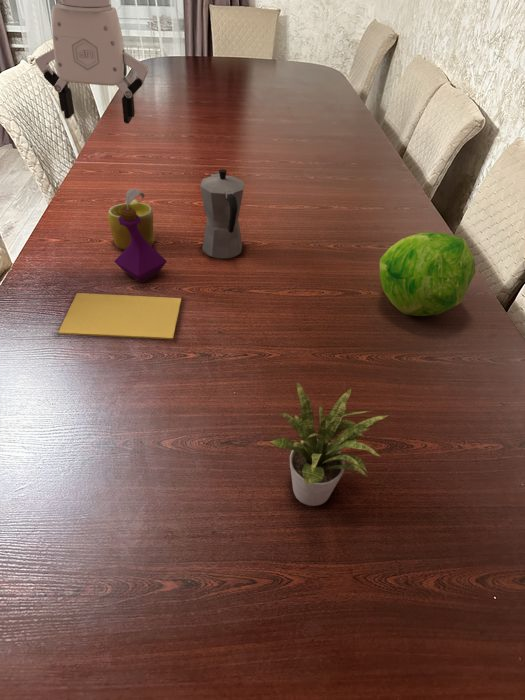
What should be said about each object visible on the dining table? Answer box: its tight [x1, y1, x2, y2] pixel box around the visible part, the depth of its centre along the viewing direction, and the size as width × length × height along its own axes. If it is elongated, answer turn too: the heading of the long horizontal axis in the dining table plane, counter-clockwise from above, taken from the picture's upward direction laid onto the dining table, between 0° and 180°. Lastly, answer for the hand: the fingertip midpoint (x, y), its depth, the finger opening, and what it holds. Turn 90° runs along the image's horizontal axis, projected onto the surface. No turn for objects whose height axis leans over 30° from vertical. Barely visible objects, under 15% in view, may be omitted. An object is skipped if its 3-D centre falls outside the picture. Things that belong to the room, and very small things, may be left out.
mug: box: [107, 199, 155, 251], centre depth 114 cm, size 12×10×10 cm
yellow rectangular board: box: [57, 292, 182, 340], centre depth 96 cm, size 20×12×1 cm, turn 90°
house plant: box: [269, 380, 390, 507], centre depth 64 cm, size 14×14×16 cm
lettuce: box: [379, 232, 476, 317], centre depth 99 cm, size 17×20×16 cm
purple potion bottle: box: [113, 188, 168, 283], centre depth 101 cm, size 8×8×18 cm
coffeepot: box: [199, 168, 246, 260], centre depth 110 cm, size 15×9×18 cm, turn 19°
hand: (99, 118), depth 87 cm, fingers open, 9 cm apart
